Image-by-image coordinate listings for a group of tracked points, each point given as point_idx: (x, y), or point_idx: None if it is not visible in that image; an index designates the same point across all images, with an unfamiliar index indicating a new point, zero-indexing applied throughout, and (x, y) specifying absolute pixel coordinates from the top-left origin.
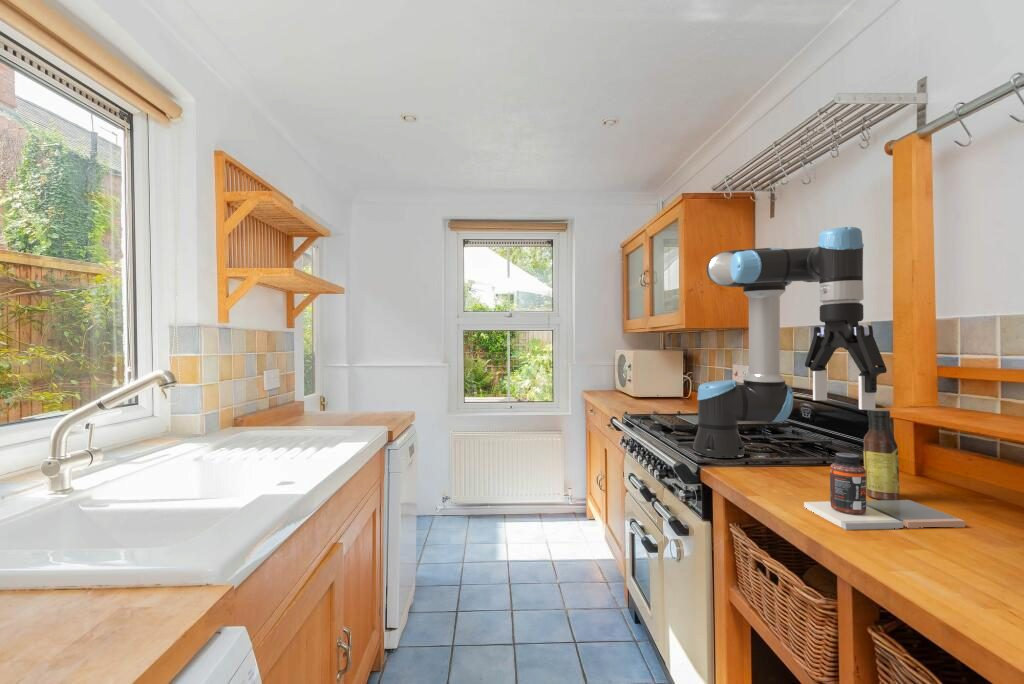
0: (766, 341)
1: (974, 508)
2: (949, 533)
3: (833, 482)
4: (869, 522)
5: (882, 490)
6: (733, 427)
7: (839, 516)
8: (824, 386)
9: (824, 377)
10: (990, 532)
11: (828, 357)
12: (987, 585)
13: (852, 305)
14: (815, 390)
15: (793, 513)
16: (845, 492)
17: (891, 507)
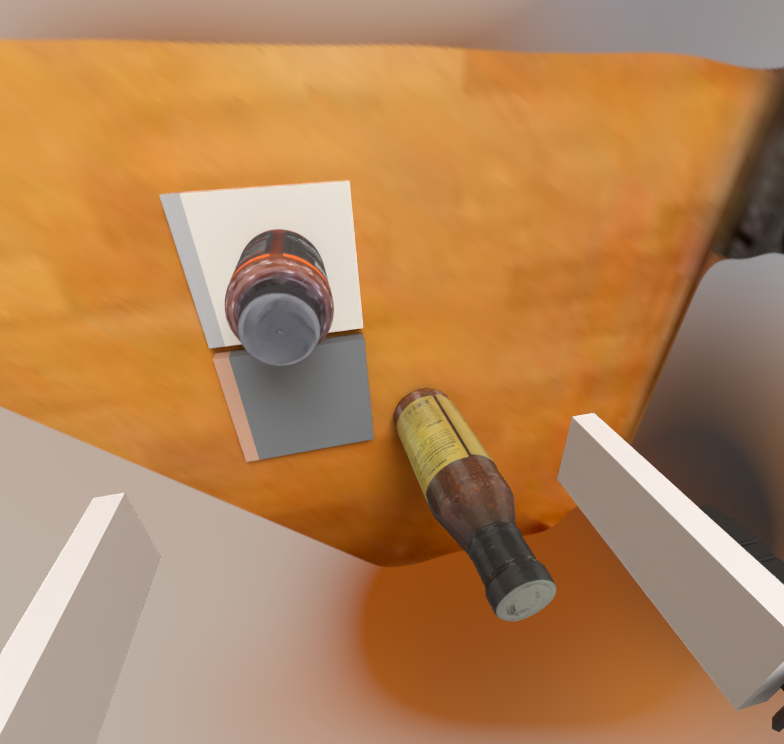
0: None
1: (358, 514)
2: (203, 411)
3: (273, 246)
4: (186, 268)
5: (403, 413)
6: None
7: (224, 214)
8: (624, 546)
9: (687, 623)
10: (226, 475)
11: None
12: None
13: None
14: (622, 468)
15: (291, 109)
16: (240, 258)
17: (318, 381)
